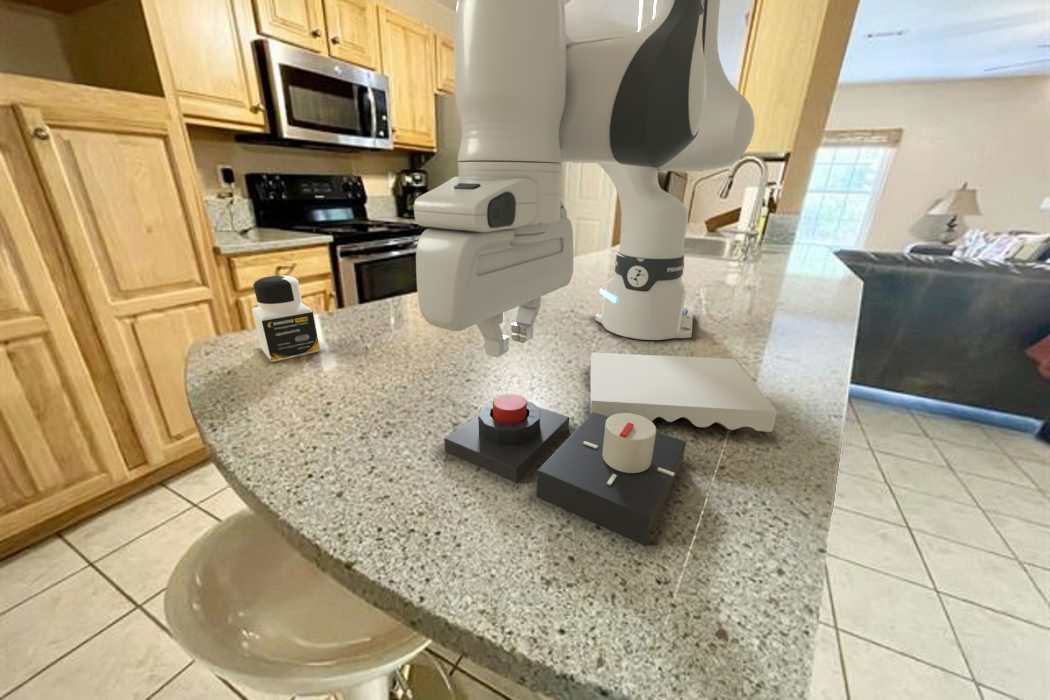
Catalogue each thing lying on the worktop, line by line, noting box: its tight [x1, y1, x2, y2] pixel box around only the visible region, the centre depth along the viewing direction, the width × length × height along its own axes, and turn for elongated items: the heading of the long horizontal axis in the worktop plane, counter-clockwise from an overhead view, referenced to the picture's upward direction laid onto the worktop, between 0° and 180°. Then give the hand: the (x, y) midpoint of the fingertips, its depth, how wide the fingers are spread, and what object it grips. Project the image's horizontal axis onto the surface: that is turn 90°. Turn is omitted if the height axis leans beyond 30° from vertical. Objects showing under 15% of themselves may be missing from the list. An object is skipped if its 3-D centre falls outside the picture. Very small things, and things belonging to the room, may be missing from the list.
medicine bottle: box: [251, 274, 321, 363], centre depth 66 cm, size 7×7×12 cm
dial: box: [602, 413, 657, 473], centre depth 38 cm, size 4×4×4 cm
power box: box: [443, 400, 570, 484], centre depth 45 cm, size 11×9×4 cm
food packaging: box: [589, 352, 778, 433], centre depth 54 cm, size 15×3×20 cm
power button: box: [492, 393, 528, 424], centre depth 45 cm, size 4×4×2 cm
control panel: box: [536, 412, 687, 546], centre depth 40 cm, size 12×10×3 cm
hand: (510, 346), depth 42 cm, fingers open, 3 cm apart
